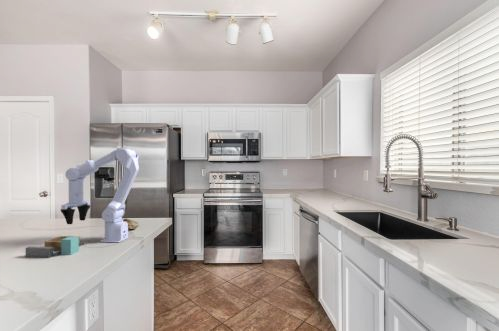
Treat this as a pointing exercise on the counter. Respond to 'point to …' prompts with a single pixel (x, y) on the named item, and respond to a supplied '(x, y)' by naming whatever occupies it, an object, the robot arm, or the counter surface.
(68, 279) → the counter surface
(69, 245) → the aqua rectangular prism
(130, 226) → the decorative stone
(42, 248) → the backstop
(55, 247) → the brown rectangular frame
